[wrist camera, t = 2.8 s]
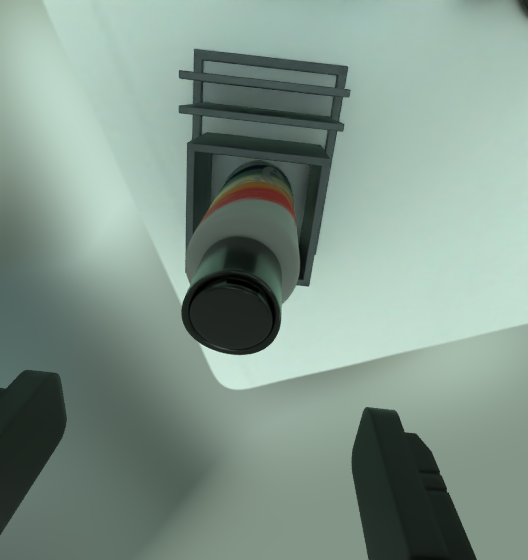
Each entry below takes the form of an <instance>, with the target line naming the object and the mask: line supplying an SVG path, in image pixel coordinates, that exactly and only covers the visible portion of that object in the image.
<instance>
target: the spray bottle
mask: <svg viewBox="0 0 528 560" xmlns="http://www.w3.org/2000/svg"><path fill="white" fill-rule="evenodd" d="M185 267H186V273H187V277H188V280H189V283H190V286H189V289H188V291H187V293H186V296H185V298H184V301H183V305H182V320H183V324H184V326H185V328H186V330H187V331H188V332H189V334H190V335H191V336H192V337H193V338H194V339H195V340H197V341H198V342H199V343H201V344H202V345H204V346H206V347H208V348H210V349H213V350H215V351H218V352H222V353H226V354H233V355H247V354H253V353H256V352H259V351H261V350H263V349H265V348H266V347H268V346H269V345H270V344H271V343H272V342H273V341H274V339H275V338H276V336H277V334H278V332H279V329H280V324H281V308H282V304H283V303H284V302H285V301H286V300H287V299H288V297H289V296H290V295H291V293H292V292H293V290H294V288H295V286H296V283H297V281H298V277H299V272H300V256H299V245H298V236H297V227H296V219H295V210H294V201H293V194H292V189H291V186H290V183H289V181H288V179H287V177H286V176H285V175H284V173H283V172H282V171H281V170H279V169H278V168H277V167H275V166H273V165H271V164H269V163H265V162H250V163H247V164H244V165H242V166H240V167H239V168H237V169H236V170H235V171H234V172H233V173H232V174H231V175H230V176H229V178H228V179H227V181H226V182H225V184H224V185H223V187H222V189H221V190H220V192H219V193H218V195H217V197H216V198H215V200H214V201H213V203H212V205H211V206H210V208H209V209H208V211H207V213H206V214H205V216H204V217H203V219H202V221H201V222H200V224H199V226H198V227H197V229H196V231H195V232H194V234H193V236H192V238H191V240H190V242H189V245H188V248H187V252H186V259H185Z"/></svg>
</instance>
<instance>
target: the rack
mask: <svg viewBox="0 0 528 560" xmlns="http://www.w3.org/2000/svg"><path fill="white" fill-rule="evenodd" d="M203 60H206V61H215V62H224V63H233V64H242V65H250V66H259V67H268V68H277V69H286V70H294V71H303V72H312V73H321V74H330V75H337V81H336V87H335V88H331V87H323V86H314V85H305V84H296V83H287V82H279V81H270V80H261V79H252V78H243V77H234V76H226V75H217V74H208V73H203ZM347 71H348V67H347V66H339V65H330V64H321V63H312V62H304V61H295V60H286V59H277V58H268V57H260V56H251V55H242V54H233V53H225V52H216V51H207V50H198V49H194V72H190V71H182V70H179V78H181V79H188V80H194V83H193V104H189V105H181V106H179V113H183V114H191V115H193V133H192V141H190V142H188V143H187V195H186V252H187V248H188V245H189V242H190V240H191V238H192V236H193V234H194V232H195V231H196V229H197V227H198V226H199V224H200V222H201V221H202V219H203V217H204V216H205V214H206V213H207V211H208V209H209V208H210V190H211V166H212V154H221V155H230V156H239V157H248V158H256V159H265V160H274V161H283V162H292V163H301V164H310V165H311V171H310V177H309V184H308V191H307V197H306V204H305V211H304V217H303V224H302V231H301V237H300V244H298V245H299V256H300V272H299V277H298V281H297V283H296V285H300V286H309V284H310V278H311V272H312V266H313V260H314V255H316V250H317V244H318V239H319V233H320V227H321V221H322V215H323V210H324V204H325V198H326V192H327V186H328V181H329V175H330V169H331V163H332V157H333V152H334V146H335V140H336V134H337V131H343V130H344V124H342V123H340V122H339V117H340V111H341V105H342V99H343V97H349V96H350V90H349V89H344V88H345V82H346V76H347ZM203 82H210V83H219V84H228V85H237V86H245V87H254V88H263V89H272V90H281V91H290V92H298V93H307V94H316V95H325V96H334V99H333V105H332V111H331V118H330V117H328V116H319V115H310V114H301V113H293V112H284V111H275V110H266V109H257V108H248V107H239V106H231V105H222V104H213V103H202V93H203ZM202 116H209V117H218V118H227V119H236V120H245V121H254V122H262V123H271V124H280V125H289V126H298V127H307V128H316V129H325V130H328V136H327V142H326V148H325V151H324V149H323V148H322V147H321V145H315V144H306V143H298V142H289V141H280V140H271V139H262V138H253V137H244V136H235V135H226V134H217V133H209V132H207V133H205V134H203V135H201V127H202ZM185 273H186V267H185Z"/></svg>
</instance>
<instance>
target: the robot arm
mask: <svg viewBox="0 0 528 560" xmlns="http://www.w3.org/2000/svg"><path fill="white" fill-rule="evenodd" d="M66 421H67V417H66V410H65V403H64V397H63V391H62V385H61V379H60V376H59V375H58V374H57V373H51V372H43V371H33V370H25V371H23V372H22V373H21V374H20V375H19V376H18V377H17V378H16V379H15V380H14V381H13V382H12V383H11V384H10V385H9V386H8V387H7V388H6V389H3V388H0V535H1V533H2V532H3V530H4V528H5V527H6V525H7V524H8V522H9V521H10V519H11V517H12V516H13V514H14V513H15V511H16V510H17V508H18V507H19V505H20V503H21V502H22V500H23V499H24V497H25V495H26V494H27V492H28V491H29V489H30V487H31V486H32V485H33V483H34V481H35V480H36V478H37V477H38V475H39V474H40V472H41V471H42V469H43V467H44V466H45V464H46V463H47V461H48V460H49V458H50V456H51V455H52V453H53V452H54V450H55V448H56V447H57V445H58V444H59V442H60V440H61V439H62V436H63V434H64V431H65V427H66ZM352 474H353V479H354V484H355V490H356V495H357V500H358V505H359V511H360V517H361V521H362V527H363V532H364V538H365V543H366V548H367V554H368V559H369V560H477V559H476V557H475V554H474V552H473V549H472V547H471V545H470V542H469V540H468V538H467V535H466V533H465V530H464V528H463V526H462V523H461V521H460V518H459V516H458V514H457V511H456V509H455V507H454V504H453V502H452V499H451V497H450V495H449V493H447V488H446V485H445V483H444V480H443V478H442V476H441V475H440V471H439V468H438V466H437V464H436V461H435V459H434V457H433V454H432V452H431V451H430V449H429V448H428V447H427V446H426V445H425V444H424V442H423V441H422V440H421V439H420V438H419V436H418V435H417V434H415V433H405V432H404V429H403V427H402V424H401V421H400V418H399V416H398V413H397V412H396V411H395V410H388V409H378V408H369V407H366V408H365V409H364V411H363V414H362V418H361V421H360V425H359V428H358V432H357V435H356V439H355V442H354V446H353V451H352Z"/></svg>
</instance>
